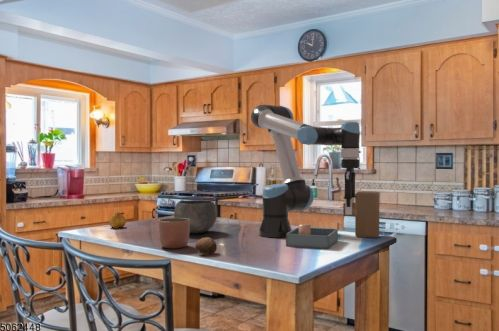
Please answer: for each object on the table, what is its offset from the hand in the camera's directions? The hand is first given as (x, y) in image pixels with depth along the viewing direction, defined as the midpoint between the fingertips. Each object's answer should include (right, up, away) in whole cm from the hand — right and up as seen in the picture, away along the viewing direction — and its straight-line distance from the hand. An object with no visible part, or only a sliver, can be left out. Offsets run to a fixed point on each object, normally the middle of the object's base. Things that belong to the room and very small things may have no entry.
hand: (349, 213), depth 188 cm
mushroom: (-59, -13, -23) cm, 64 cm away
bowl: (-68, -12, +25) cm, 74 cm away
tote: (-16, -12, -3) cm, 20 cm away
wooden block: (+11, -12, +14) cm, 21 cm away
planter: (-73, -13, -10) cm, 74 cm away
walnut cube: (0, -1, 0) cm, 1 cm away
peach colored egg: (-19, -11, -2) cm, 23 cm away
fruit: (-111, -12, +42) cm, 119 cm away
